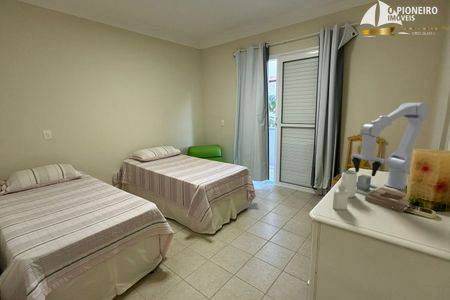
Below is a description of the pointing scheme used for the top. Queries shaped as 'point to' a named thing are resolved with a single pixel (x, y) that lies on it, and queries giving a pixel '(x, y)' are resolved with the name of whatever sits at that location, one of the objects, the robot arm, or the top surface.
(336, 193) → the eye dropper bottle
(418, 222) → the top surface
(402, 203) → the pallet
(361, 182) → the billet
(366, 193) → the grey rectangular frame
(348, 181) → the can
